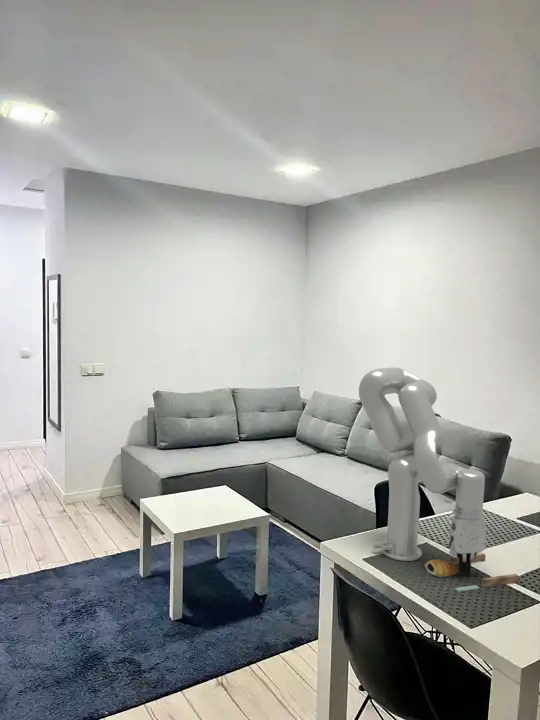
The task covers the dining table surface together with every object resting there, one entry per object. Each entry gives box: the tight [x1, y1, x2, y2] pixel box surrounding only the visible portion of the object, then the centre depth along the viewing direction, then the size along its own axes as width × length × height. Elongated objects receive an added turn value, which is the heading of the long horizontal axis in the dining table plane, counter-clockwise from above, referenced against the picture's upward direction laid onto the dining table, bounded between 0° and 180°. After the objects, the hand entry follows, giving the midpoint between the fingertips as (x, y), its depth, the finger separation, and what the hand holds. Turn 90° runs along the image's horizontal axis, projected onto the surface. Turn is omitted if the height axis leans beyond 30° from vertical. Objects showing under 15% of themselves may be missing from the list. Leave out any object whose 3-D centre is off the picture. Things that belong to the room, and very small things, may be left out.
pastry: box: [424, 558, 459, 578], centre depth 168 cm, size 9×7×4 cm
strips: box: [424, 563, 480, 593], centre depth 165 cm, size 7×16×1 cm, turn 19°
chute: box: [449, 552, 520, 588], centre depth 168 cm, size 12×15×2 cm
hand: (464, 572), depth 166 cm, fingers closed
